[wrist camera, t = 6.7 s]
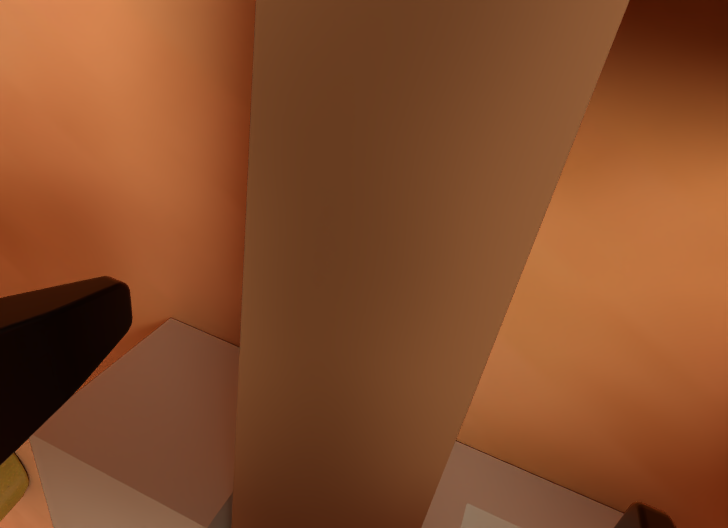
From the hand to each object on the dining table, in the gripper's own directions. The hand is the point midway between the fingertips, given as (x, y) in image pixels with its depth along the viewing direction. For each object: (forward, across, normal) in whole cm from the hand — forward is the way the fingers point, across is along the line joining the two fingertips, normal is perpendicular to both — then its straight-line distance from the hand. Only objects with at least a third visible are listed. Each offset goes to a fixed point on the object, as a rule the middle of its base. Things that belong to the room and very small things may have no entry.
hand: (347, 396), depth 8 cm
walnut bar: (+2, 0, 0) cm, 3 cm away
